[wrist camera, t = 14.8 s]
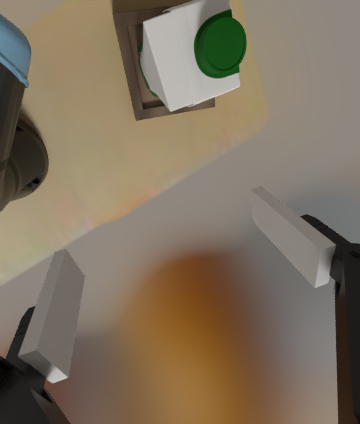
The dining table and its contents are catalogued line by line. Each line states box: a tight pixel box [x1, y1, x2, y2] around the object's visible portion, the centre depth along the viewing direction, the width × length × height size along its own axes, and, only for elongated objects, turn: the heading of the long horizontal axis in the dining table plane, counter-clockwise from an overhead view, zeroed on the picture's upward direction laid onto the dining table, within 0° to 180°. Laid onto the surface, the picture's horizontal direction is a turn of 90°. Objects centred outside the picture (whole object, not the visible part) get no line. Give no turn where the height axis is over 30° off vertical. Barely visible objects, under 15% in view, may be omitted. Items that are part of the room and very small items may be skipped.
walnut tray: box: [113, 6, 215, 121], centre depth 37 cm, size 14×14×2 cm
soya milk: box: [137, 0, 246, 112], centre depth 28 cm, size 9×9×20 cm
